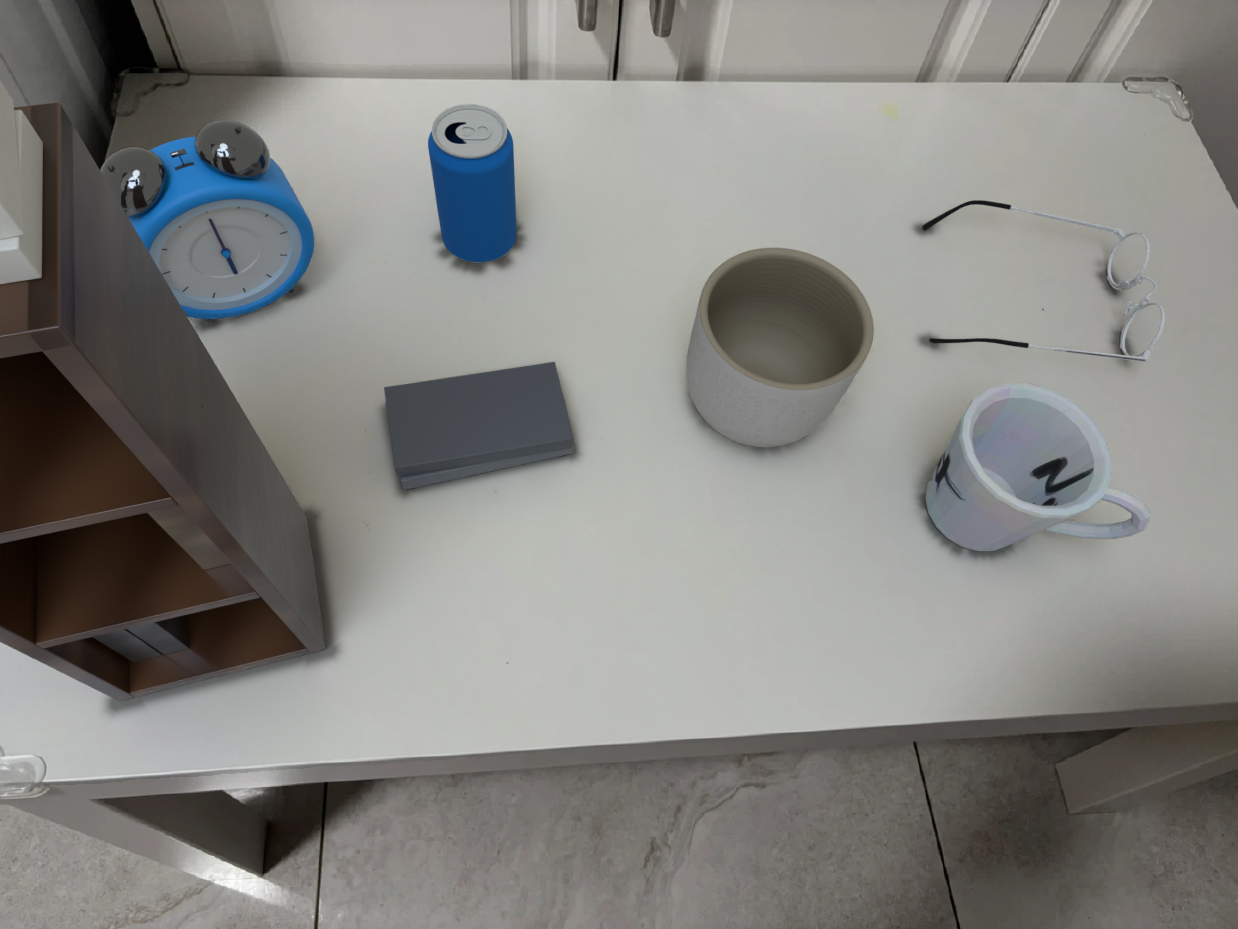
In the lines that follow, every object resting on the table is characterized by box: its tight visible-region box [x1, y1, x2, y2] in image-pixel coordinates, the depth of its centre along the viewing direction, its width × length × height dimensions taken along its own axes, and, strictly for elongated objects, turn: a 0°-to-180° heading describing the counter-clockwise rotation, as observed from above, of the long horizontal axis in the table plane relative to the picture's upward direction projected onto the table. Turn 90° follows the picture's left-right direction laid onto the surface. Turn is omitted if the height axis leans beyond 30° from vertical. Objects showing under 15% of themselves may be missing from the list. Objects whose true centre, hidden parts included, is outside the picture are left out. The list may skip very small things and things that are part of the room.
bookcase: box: [0, 101, 327, 702], centre depth 43 cm, size 13×10×36 cm
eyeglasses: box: [922, 199, 1166, 363], centre depth 75 cm, size 16×19×5 cm
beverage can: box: [427, 103, 518, 264], centre depth 70 cm, size 6×6×12 cm
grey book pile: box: [383, 361, 575, 491], centre depth 65 cm, size 13×8×3 cm, turn 106°
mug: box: [925, 382, 1152, 552], centre depth 62 cm, size 10×15×10 cm
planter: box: [685, 247, 875, 448], centre depth 65 cm, size 12×12×11 cm
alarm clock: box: [99, 119, 315, 324], centre depth 64 cm, size 13×6×15 cm, turn 120°
